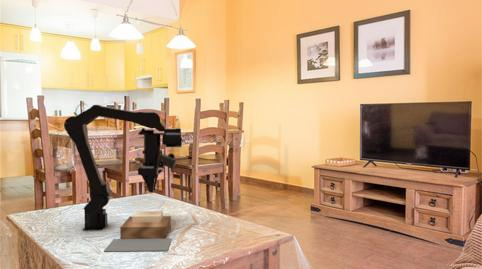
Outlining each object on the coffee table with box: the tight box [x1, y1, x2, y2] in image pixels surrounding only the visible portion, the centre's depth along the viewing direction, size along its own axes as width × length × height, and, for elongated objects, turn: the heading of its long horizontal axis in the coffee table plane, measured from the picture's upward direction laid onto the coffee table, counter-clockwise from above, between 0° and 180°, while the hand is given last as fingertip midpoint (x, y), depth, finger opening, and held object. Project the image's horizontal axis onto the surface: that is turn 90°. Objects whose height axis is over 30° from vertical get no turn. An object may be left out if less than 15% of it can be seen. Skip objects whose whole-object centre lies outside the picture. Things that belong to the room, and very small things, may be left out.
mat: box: [103, 237, 173, 253], centre depth 108 cm, size 18×10×1 cm, turn 93°
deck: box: [119, 215, 172, 239], centre depth 119 cm, size 14×12×4 cm
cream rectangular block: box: [132, 210, 164, 222], centre depth 121 cm, size 9×6×2 cm, turn 93°
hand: (152, 191), depth 129 cm, fingers open, 4 cm apart
